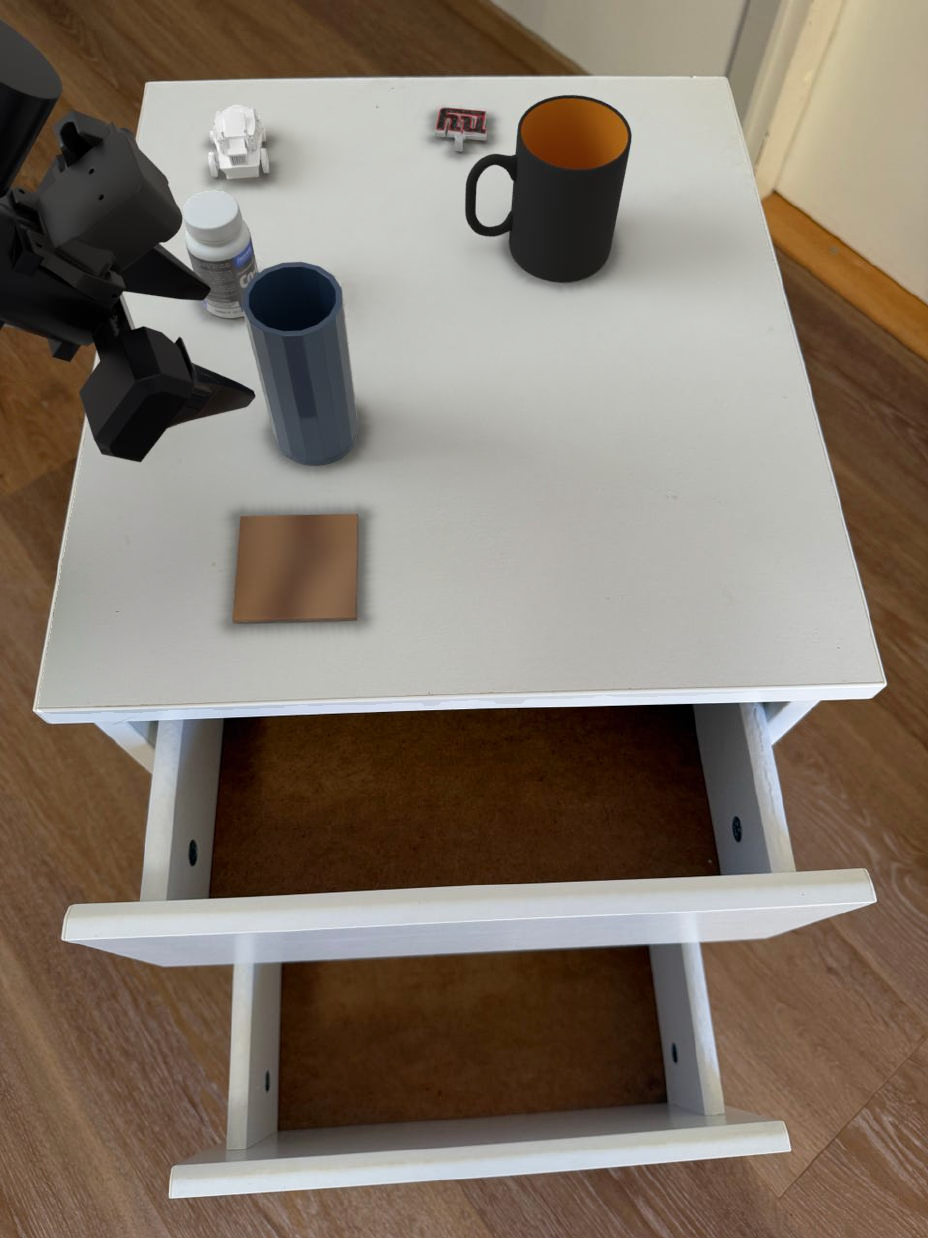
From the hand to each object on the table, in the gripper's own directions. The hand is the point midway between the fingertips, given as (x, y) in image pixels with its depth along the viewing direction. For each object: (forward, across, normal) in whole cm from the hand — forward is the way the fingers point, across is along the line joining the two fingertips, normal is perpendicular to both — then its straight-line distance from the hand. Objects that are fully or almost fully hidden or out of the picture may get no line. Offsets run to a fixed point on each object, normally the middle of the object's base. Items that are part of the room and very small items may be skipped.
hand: (228, 344), depth 60 cm
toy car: (+13, +30, +2) cm, 33 cm away
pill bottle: (+10, +15, +6) cm, 19 cm away
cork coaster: (+7, -10, +8) cm, 15 cm away
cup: (+11, 0, +5) cm, 12 cm away
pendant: (+27, +26, -11) cm, 39 cm away
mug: (+27, +11, -11) cm, 31 cm away
